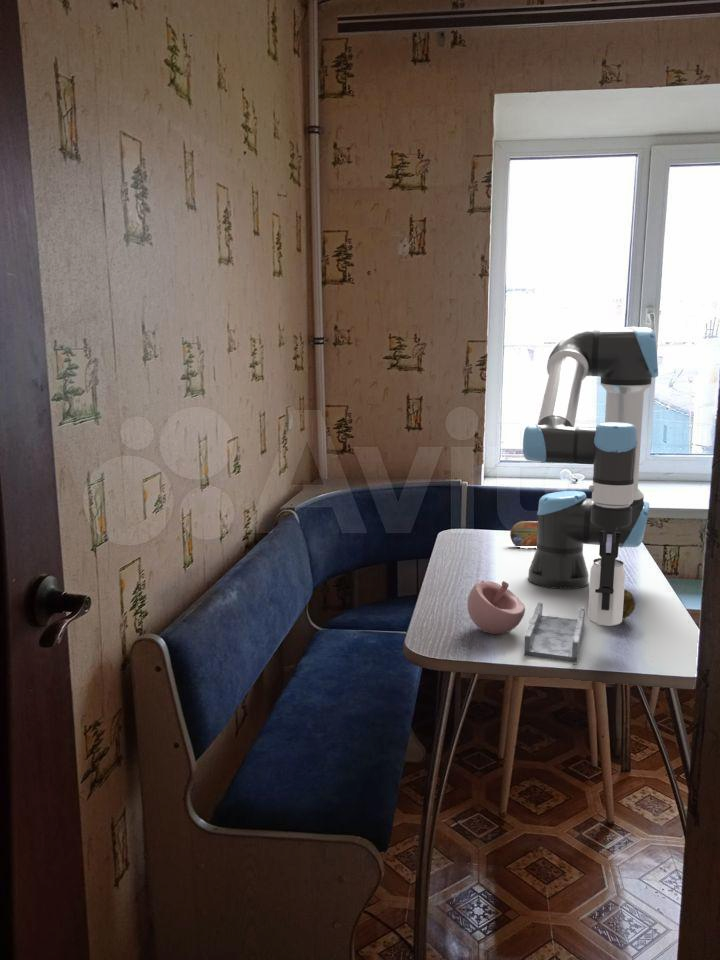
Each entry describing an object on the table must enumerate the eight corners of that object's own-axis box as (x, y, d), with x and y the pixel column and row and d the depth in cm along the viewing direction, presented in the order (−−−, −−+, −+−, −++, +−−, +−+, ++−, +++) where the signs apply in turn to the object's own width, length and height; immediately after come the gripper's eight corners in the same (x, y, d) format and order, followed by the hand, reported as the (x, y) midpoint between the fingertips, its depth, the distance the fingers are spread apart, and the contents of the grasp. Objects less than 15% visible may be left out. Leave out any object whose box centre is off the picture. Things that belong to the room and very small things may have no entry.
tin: (510, 548, 232) (511, 521, 231) (508, 546, 235) (509, 519, 234) (560, 549, 232) (561, 522, 230) (558, 547, 235) (559, 520, 233)
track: (537, 619, 170) (538, 602, 170) (584, 624, 167) (585, 607, 166) (524, 655, 150) (524, 636, 149) (576, 662, 146) (577, 642, 146)
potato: (623, 610, 177) (625, 576, 175) (637, 630, 164) (640, 594, 163) (586, 609, 177) (588, 575, 176) (598, 628, 165) (600, 592, 163)
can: (621, 628, 147) (625, 568, 145) (586, 623, 149) (589, 564, 147) (623, 617, 153) (626, 559, 150) (589, 613, 155) (592, 555, 153)
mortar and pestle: (513, 646, 154) (515, 592, 152) (458, 635, 160) (459, 583, 158) (531, 628, 165) (533, 577, 163) (478, 618, 170) (479, 569, 169)
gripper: (593, 493, 157) (588, 600, 161) (588, 513, 139) (582, 633, 143) (632, 495, 154) (625, 604, 158) (632, 516, 136) (624, 638, 141)
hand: (605, 618), depth 151 cm, fingers closed on can, 6 cm apart
